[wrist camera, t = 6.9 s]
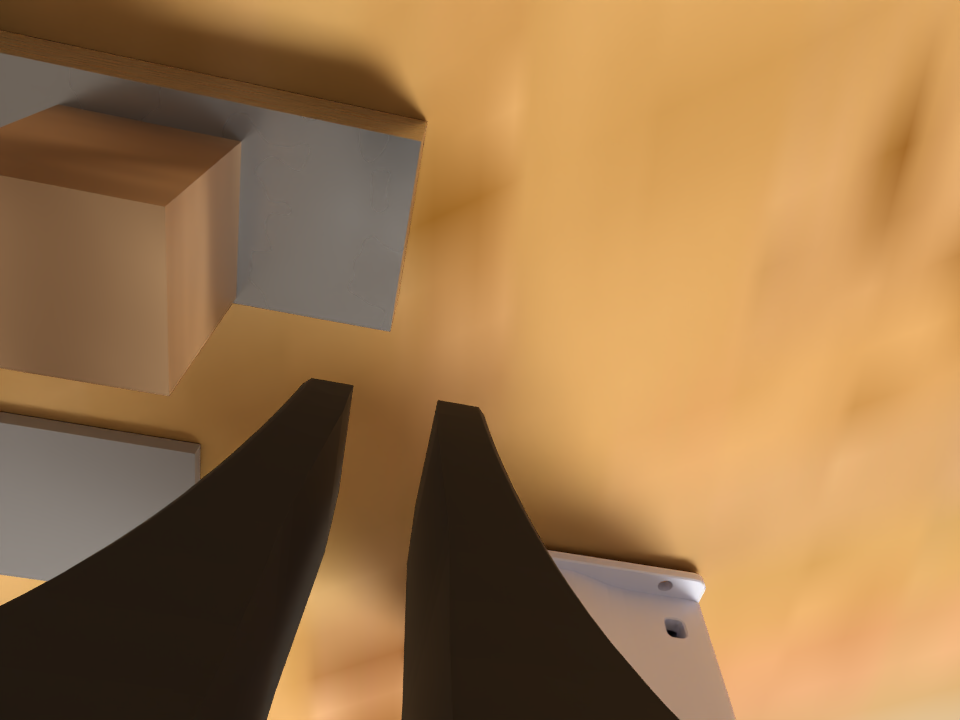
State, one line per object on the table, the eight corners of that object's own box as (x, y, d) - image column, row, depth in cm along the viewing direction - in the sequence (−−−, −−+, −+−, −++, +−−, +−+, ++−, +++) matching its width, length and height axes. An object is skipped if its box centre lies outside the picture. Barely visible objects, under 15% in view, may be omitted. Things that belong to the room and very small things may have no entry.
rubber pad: (200, 444, 23) (195, 453, 23) (199, 590, 27) (194, 601, 26) (-27, 407, 22) (-37, 416, 22) (2, 562, 26) (-6, 573, 25)
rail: (437, 58, 17) (427, 84, 14) (390, 343, 21) (375, 410, 18) (-415, -132, 15) (-636, -148, 12) (-289, 219, 19) (-433, 272, 16)
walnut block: (241, 141, 16) (165, 206, 12) (236, 297, 18) (169, 395, 14) (57, 103, 16) (-81, 159, 12) (73, 268, 18) (-41, 361, 14)
